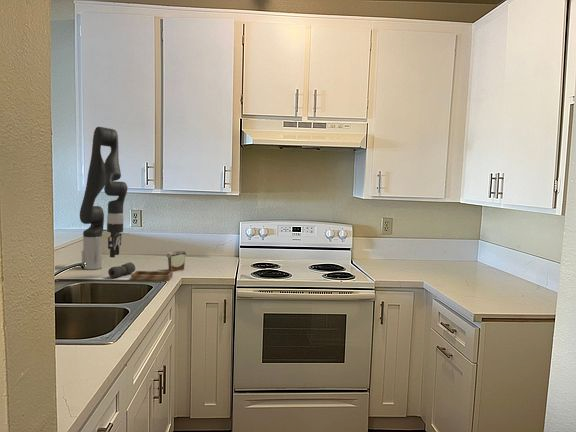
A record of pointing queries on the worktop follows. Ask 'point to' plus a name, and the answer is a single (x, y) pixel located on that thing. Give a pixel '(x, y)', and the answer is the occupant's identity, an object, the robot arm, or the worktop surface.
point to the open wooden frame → (152, 275)
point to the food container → (176, 260)
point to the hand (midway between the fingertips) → (114, 255)
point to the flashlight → (122, 269)
